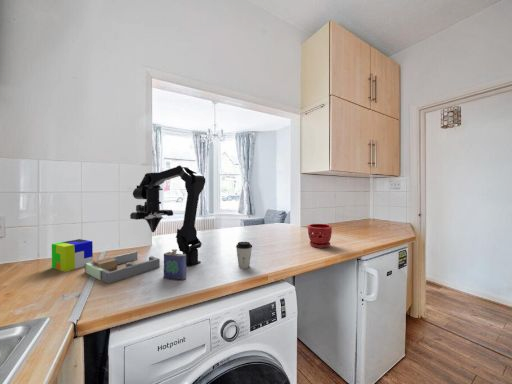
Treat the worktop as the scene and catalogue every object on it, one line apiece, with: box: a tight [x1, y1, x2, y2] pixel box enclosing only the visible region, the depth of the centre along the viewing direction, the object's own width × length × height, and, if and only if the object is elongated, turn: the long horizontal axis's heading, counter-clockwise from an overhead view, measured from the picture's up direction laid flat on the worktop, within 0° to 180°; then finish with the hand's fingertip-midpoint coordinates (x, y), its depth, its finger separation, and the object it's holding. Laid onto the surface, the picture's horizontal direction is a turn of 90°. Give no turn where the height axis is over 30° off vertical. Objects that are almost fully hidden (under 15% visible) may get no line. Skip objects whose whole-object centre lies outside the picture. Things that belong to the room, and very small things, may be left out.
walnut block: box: [93, 256, 118, 272], centre depth 86 cm, size 6×6×5 cm
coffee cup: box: [235, 241, 253, 269], centre depth 93 cm, size 7×7×10 cm
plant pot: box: [307, 223, 333, 249], centre depth 127 cm, size 13×13×12 cm
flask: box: [163, 248, 187, 281], centre depth 81 cm, size 9×3×11 cm, turn 74°
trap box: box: [84, 251, 161, 284], centre depth 90 cm, size 19×20×4 cm
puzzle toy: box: [51, 238, 94, 273], centre depth 94 cm, size 10×10×10 cm
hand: (153, 232), depth 106 cm, fingers closed
